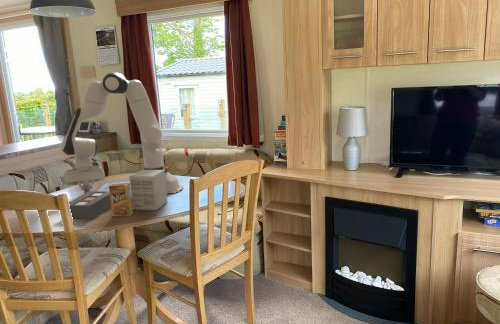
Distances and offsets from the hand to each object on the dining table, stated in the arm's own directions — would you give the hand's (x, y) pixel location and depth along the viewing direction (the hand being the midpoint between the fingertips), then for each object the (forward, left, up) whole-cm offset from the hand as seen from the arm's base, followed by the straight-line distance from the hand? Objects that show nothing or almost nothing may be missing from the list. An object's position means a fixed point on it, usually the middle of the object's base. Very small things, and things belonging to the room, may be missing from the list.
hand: (87, 189), depth 209 cm
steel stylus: (0, -1, -7) cm, 7 cm away
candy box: (-31, +20, -7) cm, 37 cm away
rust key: (-12, +16, -3) cm, 20 cm away
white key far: (-12, +23, -3) cm, 26 cm away
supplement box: (-39, +6, -7) cm, 40 cm away
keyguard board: (-12, +16, -7) cm, 21 cm away
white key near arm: (-12, +9, -3) cm, 15 cm away
